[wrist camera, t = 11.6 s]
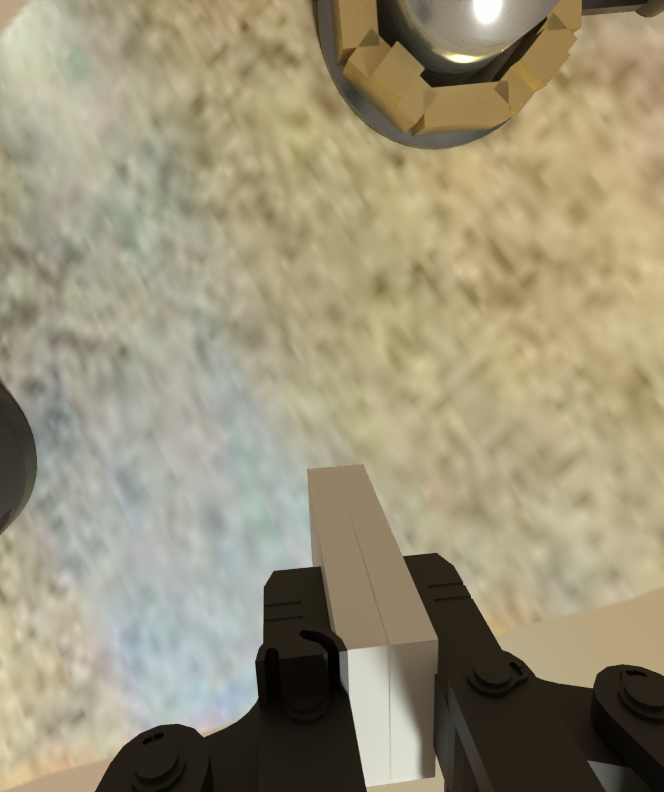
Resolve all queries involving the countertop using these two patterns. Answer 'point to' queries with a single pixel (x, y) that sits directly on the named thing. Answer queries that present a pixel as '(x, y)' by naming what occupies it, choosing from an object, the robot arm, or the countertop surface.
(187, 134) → the countertop surface
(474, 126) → the tan handled ring
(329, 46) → the housing
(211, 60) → the countertop surface
